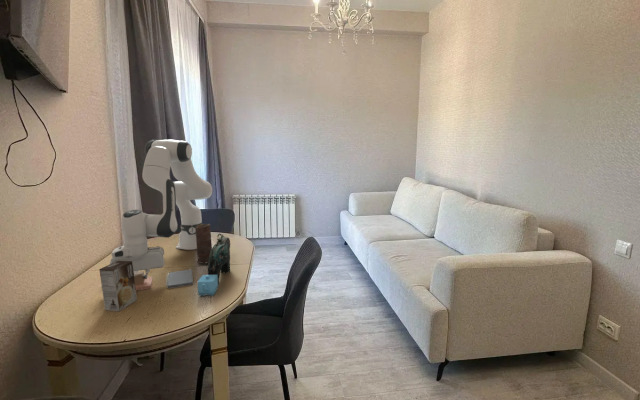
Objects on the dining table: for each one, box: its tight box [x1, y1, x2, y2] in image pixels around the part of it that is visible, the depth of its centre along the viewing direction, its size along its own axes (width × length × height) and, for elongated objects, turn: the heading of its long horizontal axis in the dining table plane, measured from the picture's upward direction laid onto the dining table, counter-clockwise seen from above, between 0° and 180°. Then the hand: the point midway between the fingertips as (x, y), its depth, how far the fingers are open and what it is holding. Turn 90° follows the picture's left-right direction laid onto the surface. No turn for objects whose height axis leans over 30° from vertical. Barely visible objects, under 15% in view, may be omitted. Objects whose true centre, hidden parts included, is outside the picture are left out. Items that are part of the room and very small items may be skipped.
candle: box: [195, 223, 213, 264], centre depth 167 cm, size 8×7×20 cm
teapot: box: [197, 274, 219, 297], centre depth 133 cm, size 12×6×8 cm, turn 4°
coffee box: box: [98, 261, 138, 312], centre depth 123 cm, size 9×6×16 cm
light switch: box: [134, 270, 154, 291], centre depth 141 cm, size 10×8×5 cm
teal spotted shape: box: [207, 233, 231, 285], centre depth 148 cm, size 20×6×20 cm, turn 177°
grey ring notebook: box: [165, 268, 194, 290], centre depth 147 cm, size 16×11×1 cm
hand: (139, 279), depth 141 cm, fingers closed on light switch, 3 cm apart
